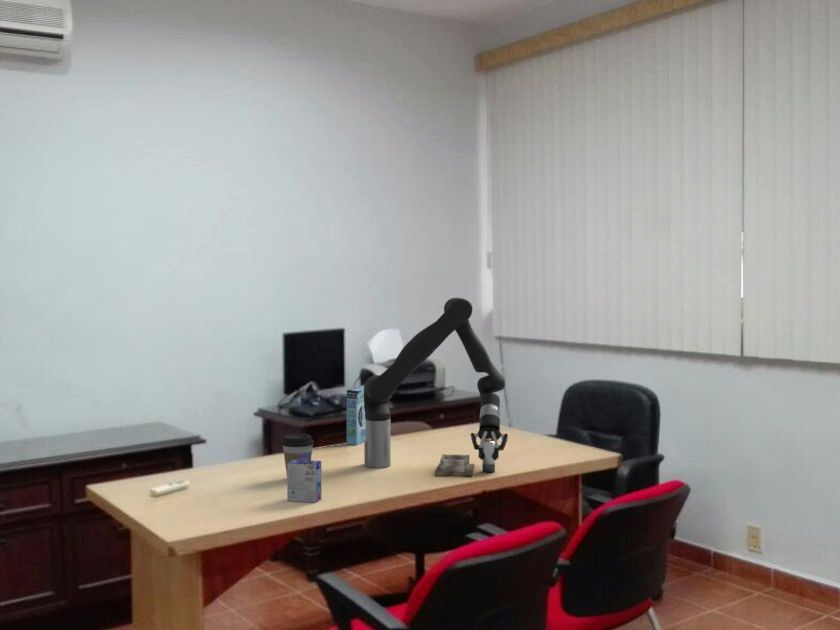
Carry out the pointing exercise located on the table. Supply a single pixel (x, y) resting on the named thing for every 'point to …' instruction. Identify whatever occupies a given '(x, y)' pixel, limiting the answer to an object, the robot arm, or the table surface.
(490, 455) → the battery cell
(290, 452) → the coffee cup
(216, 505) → the table surface
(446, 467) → the cell holder
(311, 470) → the ink cartridge box
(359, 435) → the light blue carton
